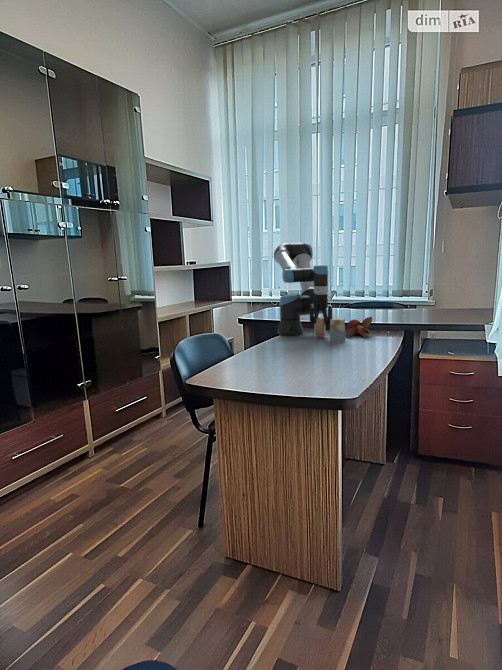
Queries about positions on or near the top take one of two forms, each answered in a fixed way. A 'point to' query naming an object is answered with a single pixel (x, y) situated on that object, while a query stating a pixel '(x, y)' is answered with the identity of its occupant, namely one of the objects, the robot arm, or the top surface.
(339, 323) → the beige cube
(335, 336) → the cube bottom
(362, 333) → the figurine
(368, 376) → the top surface
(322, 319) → the tan rounded cylinder
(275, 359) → the top surface
